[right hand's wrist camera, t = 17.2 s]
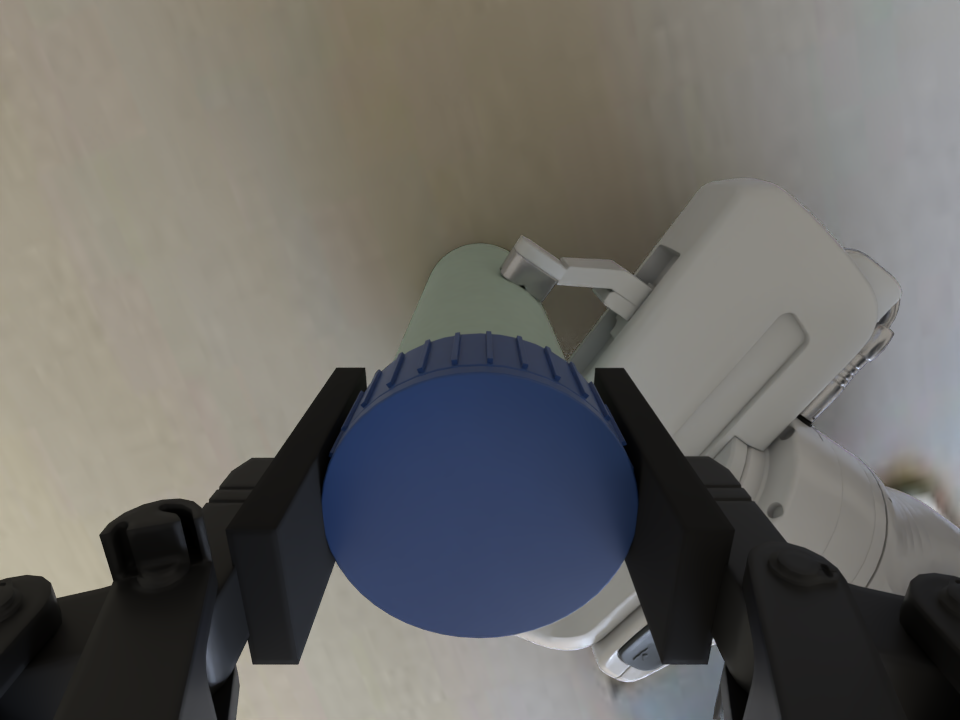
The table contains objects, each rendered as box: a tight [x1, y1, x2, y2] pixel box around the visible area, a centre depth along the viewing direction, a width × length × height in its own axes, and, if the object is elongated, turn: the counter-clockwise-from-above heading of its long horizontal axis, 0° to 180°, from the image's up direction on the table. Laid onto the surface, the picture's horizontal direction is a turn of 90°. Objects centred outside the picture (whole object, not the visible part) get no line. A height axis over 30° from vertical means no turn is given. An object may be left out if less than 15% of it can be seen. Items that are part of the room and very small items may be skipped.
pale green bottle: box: [394, 243, 566, 361], centre depth 19 cm, size 5×5×17 cm
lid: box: [321, 331, 639, 638], centre depth 11 cm, size 6×6×2 cm
